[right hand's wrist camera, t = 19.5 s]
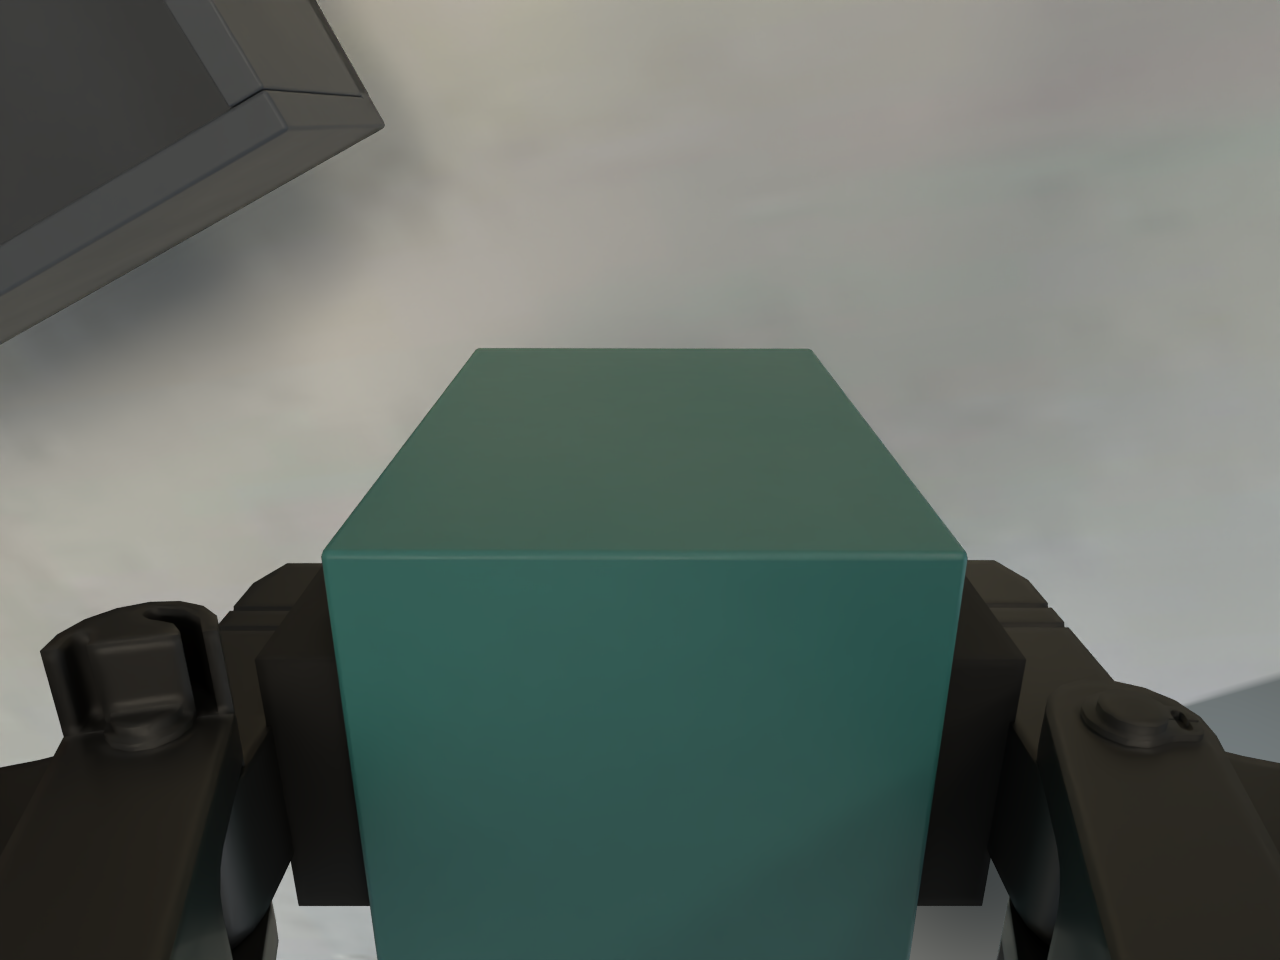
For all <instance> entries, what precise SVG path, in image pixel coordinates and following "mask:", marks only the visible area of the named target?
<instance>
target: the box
mask: <svg viewBox="0 0 1280 960" xmlns="http://www.w3.org/2000/svg"><path fill="white" fill-rule="evenodd" d="M384 126H385V125H384V122H383V120H382V118H381V116H380V115H379V113H378V111H377V109H376V108H375V106H374V104H373V102H372V100H371V99H370V97H369V95H368V93H367V91H366V89H365V87H364V86H363V84H362V82H361V80H360V79H359V77H358V75H357V73H356V71H355V70H354V68H353V66H352V64H351V62H350V61H349V59H348V57H347V55H346V54H345V52H344V50H343V48H342V46H341V45H340V43H339V41H338V39H337V38H336V36H335V34H334V32H333V30H332V29H331V27H330V25H329V23H328V22H327V20H326V18H325V16H324V14H323V13H322V11H321V9H320V7H319V6H318V4H317V2H316V0H0V344H2V343H4V342H6V341H8V340H9V339H11V338H13V337H15V336H16V335H18V334H20V333H22V332H23V331H25V330H27V329H29V328H31V327H32V326H34V325H36V324H38V323H39V322H41V321H43V320H45V319H46V318H48V317H50V316H52V315H54V314H55V313H57V312H59V311H61V310H62V309H64V308H66V307H68V306H69V305H71V304H73V303H75V302H77V301H78V300H80V299H82V298H84V297H85V296H87V295H89V294H91V293H92V292H94V291H96V290H98V289H100V288H101V287H103V286H105V285H107V284H108V283H110V282H112V281H114V280H115V279H117V278H119V277H121V276H123V275H124V274H126V273H128V272H130V271H131V270H133V269H135V268H137V267H138V266H140V265H142V264H144V263H146V262H147V261H149V260H151V259H153V258H154V257H156V256H158V255H160V254H161V253H163V252H165V251H167V250H169V249H170V248H172V247H174V246H176V245H177V244H179V243H181V242H183V241H184V240H186V239H188V238H190V237H192V236H193V235H195V234H197V233H199V232H200V231H202V230H204V229H206V228H207V227H209V226H211V225H213V224H214V223H216V222H218V221H220V220H222V219H223V218H225V217H227V216H229V215H230V214H232V213H234V212H236V211H237V210H239V209H241V208H243V207H245V206H246V205H248V204H250V203H252V202H253V201H255V200H257V199H259V198H260V197H262V196H264V195H266V194H268V193H269V192H271V191H273V190H275V189H276V188H278V187H280V186H282V185H283V184H285V183H287V182H289V181H291V180H292V179H294V178H296V177H298V176H299V175H301V174H303V173H305V172H306V171H308V170H310V169H312V168H314V167H315V166H317V165H319V164H321V163H322V162H324V161H326V160H328V159H329V158H331V157H333V156H335V155H337V154H338V153H340V152H342V151H344V150H345V149H347V148H349V147H351V146H352V145H354V144H356V143H358V142H360V141H361V140H363V139H365V138H367V137H368V136H370V135H372V134H374V133H375V132H377V131H379V130H381V129H383V128H384Z"/></svg>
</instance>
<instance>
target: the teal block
mask: <svg viewBox="0 0 1280 960" xmlns="http://www.w3.org/2000/svg"><path fill="white" fill-rule="evenodd" d="M321 558H322V565H323V572H324V579H325V586H326V593H327V601H328V608H329V615H330V622H331V629H332V637H333V644H334V651H335V658H336V665H337V672H338V680H339V687H340V694H341V701H342V708H343V715H344V723H345V730H346V737H347V744H348V751H349V758H350V766H351V773H352V780H353V787H354V794H355V801H356V809H357V816H358V823H359V830H360V837H361V844H362V852H363V859H364V866H365V873H366V880H367V887H368V895H369V902H370V909H371V916H372V923H373V930H374V938H375V945H376V952H377V959H378V960H909V958H910V951H911V944H912V937H913V930H914V923H915V916H916V910H917V903H918V896H919V889H920V882H921V875H922V868H923V861H924V855H925V848H926V841H927V834H928V827H929V820H930V813H931V806H932V800H933V793H934V786H935V779H936V772H937V765H938V758H939V751H940V745H941V738H942V731H943V724H944V717H945V710H946V703H947V696H948V689H949V683H950V676H951V669H952V662H953V655H954V648H955V641H956V634H957V628H958V621H959V614H960V607H961V600H962V593H963V586H964V579H965V573H966V566H967V559H968V557H967V554H966V552H965V550H964V549H963V548H962V546H961V545H960V544H959V542H958V541H957V540H956V539H955V537H954V536H953V535H952V533H951V532H950V531H949V529H948V528H947V527H946V525H945V524H944V523H943V522H942V520H941V519H940V518H939V516H938V515H937V514H936V512H935V511H934V510H933V508H932V507H931V506H930V505H929V503H928V502H927V501H926V499H925V498H924V497H923V495H922V494H921V493H920V491H919V490H918V489H917V488H916V486H915V485H914V484H913V482H912V481H911V480H910V478H909V477H908V476H907V474H906V473H905V472H904V470H903V469H902V468H901V467H900V465H899V464H898V463H897V461H896V460H895V459H894V457H893V456H892V455H891V453H890V452H889V451H888V450H887V448H886V447H885V446H884V444H883V443H882V442H881V440H880V439H879V438H878V436H877V435H876V434H875V433H874V431H873V430H872V429H871V427H870V426H869V425H868V423H867V422H866V421H865V419H864V418H863V417H862V415H861V414H860V413H859V412H858V410H857V409H856V408H855V406H854V405H853V404H852V402H851V401H850V400H849V398H848V397H847V396H846V395H845V393H844V392H843V391H842V389H841V388H840V387H839V385H838V384H837V383H836V381H835V380H834V379H833V378H832V376H831V375H830V374H829V372H828V371H827V370H826V368H825V367H824V366H823V364H822V363H821V362H820V361H819V359H818V358H817V357H816V355H815V354H814V353H813V351H812V350H810V349H581V348H479V349H476V350H475V352H474V353H473V354H472V356H471V357H470V358H469V360H468V361H467V362H466V364H465V365H464V366H463V367H462V369H461V370H460V371H459V373H458V374H457V375H456V377H455V378H454V379H453V381H452V382H451V383H450V385H449V386H448V387H447V389H446V390H445V391H444V392H443V394H442V395H441V396H440V398H439V399H438V400H437V402H436V403H435V404H434V406H433V407H432V408H431V410H430V411H429V412H428V413H427V415H426V416H425V417H424V419H423V420H422V421H421V423H420V424H419V425H418V427H417V428H416V429H415V431H414V432H413V433H412V435H411V436H410V437H409V438H408V440H407V441H406V442H405V444H404V445H403V446H402V448H401V449H400V450H399V452H398V453H397V454H396V456H395V457H394V458H393V460H392V461H391V462H390V463H389V465H388V466H387V467H386V469H385V470H384V471H383V473H382V474H381V475H380V477H379V478H378V479H377V481H376V482H375V483H374V484H373V486H372V487H371V488H370V490H369V491H368V492H367V494H366V495H365V496H364V498H363V499H362V500H361V502H360V503H359V504H358V506H357V507H356V508H355V509H354V511H353V512H352V513H351V515H350V516H349V517H348V519H347V520H346V521H345V523H344V524H343V525H342V527H341V528H340V529H339V530H338V532H337V533H336V534H335V536H334V537H333V538H332V540H331V541H330V542H329V544H328V545H327V546H326V548H325V549H324V550H323V553H322V556H321Z"/></svg>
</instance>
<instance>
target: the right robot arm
mask: <svg viewBox="0 0 1280 960" xmlns="http://www.w3.org/2000/svg"><path fill="white" fill-rule="evenodd" d="M40 653H41V657H42V660H43V664H44V667H45V671H46V675H47V678H48V682H49V685H50V689H51V693H52V696H53V700H54V703H55V707H56V710H57V714H58V718H59V721H60V725H61V728H62V732H63V736H64V738H63V739H62V741H61V743H60V745H59V747H58V749H57V751H56V753H55V754H54V756H53V757H49V758H45V759H41V760H37V761H32V762H27V763H21V764H16V765H11V766H6V767H1V768H0V960H276V955H277V948H278V934H277V926H276V919H275V914H274V909H273V904H272V899H273V897H274V895H275V893H276V891H277V889H278V886H279V884H280V882H281V880H282V878H283V876H284V874H285V872H286V870H287V867H288V865H289V863H290V861H291V865H292V871H293V876H294V882H295V887H296V893H297V899H298V904H299V906H370V902H369V895H368V887H367V880H366V873H365V866H364V859H363V852H362V844H361V837H360V830H359V823H358V816H357V809H356V801H355V794H354V787H353V780H352V773H351V766H350V758H349V751H348V744H347V737H346V730H345V723H344V715H343V708H342V701H341V694H340V687H339V680H338V672H337V665H336V658H335V651H334V644H333V637H332V629H331V622H330V615H329V608H328V601H327V593H326V586H325V579H324V572H323V565H322V563H287V564H285V565H283V566H282V567H280V568H278V569H277V570H275V571H273V572H272V573H270V574H268V575H266V576H265V577H263V578H261V579H260V580H258V581H256V582H255V583H253V584H252V585H251V587H250V588H249V589H248V590H247V591H246V592H245V594H244V595H243V596H242V597H241V598H240V600H239V601H238V602H237V603H236V604H235V605H234V611H229V613H228V614H227V615H226V616H225V617H224V618H223V620H222V621H221V622H220V623H219V624H218V619H217V616H216V615H215V614H214V613H212V612H211V611H210V610H208V609H207V608H206V607H204V606H202V605H197V604H192V603H187V602H182V601H166V602H147V603H142V604H137V605H131V606H126V607H121V608H116V609H113V610H110V611H107V612H105V613H102V614H99V615H96V616H93V617H90V618H87V619H84V620H83V621H81V622H79V623H77V624H75V625H74V626H72V627H70V628H68V629H66V630H64V631H63V632H61V633H59V634H57V635H56V636H55V637H54V638H53V639H52V640H51V641H50V642H49V643H48V644H47V645H46V646H45V647H44V648H43V649H42V650H41V651H40ZM990 858H991V859H992V861H993V863H994V865H995V867H996V869H997V871H998V874H999V876H1000V878H1001V880H1002V882H1003V884H1004V886H1005V888H1006V890H1007V892H1008V894H1009V899H1008V904H1007V909H1006V914H1005V919H1004V925H1003V930H1002V935H1001V940H1000V945H999V950H998V956H997V960H1280V763H1276V762H1271V761H1266V760H1260V759H1255V758H1250V757H1245V756H1241V755H1237V754H1233V753H1229V752H1225V751H1224V749H1223V747H1222V745H1221V743H1220V741H1219V740H1218V738H1217V736H1216V735H1215V733H1214V732H1213V731H1212V730H1211V729H1210V728H1209V726H1208V725H1207V724H1206V723H1205V722H1204V721H1203V719H1202V718H1201V717H1200V716H1198V715H1197V714H1195V713H1193V712H1192V711H1190V710H1189V709H1187V708H1186V707H1184V706H1183V705H1181V704H1180V703H1178V702H1177V701H1175V700H1173V699H1171V698H1168V697H1166V696H1163V695H1161V694H1158V693H1156V692H1153V691H1151V690H1149V689H1146V688H1143V687H1139V686H1134V685H1130V684H1125V683H1121V682H1116V681H1114V680H1113V679H1112V678H1111V677H1110V675H1109V674H1108V673H1107V672H1106V671H1105V670H1104V668H1103V667H1102V666H1101V665H1100V664H1099V663H1098V661H1097V660H1096V659H1095V658H1094V657H1093V656H1092V654H1091V653H1090V652H1089V651H1088V650H1087V648H1086V647H1085V646H1084V645H1083V644H1082V643H1081V641H1080V640H1079V639H1078V638H1077V637H1076V636H1075V634H1074V633H1073V632H1072V631H1071V630H1070V629H1069V627H1064V622H1063V620H1062V619H1061V618H1060V617H1059V616H1058V615H1057V613H1056V612H1055V611H1054V610H1053V609H1052V608H1048V603H1047V602H1046V600H1045V599H1044V598H1043V597H1042V596H1041V595H1040V593H1039V592H1038V591H1037V590H1036V589H1035V588H1034V586H1033V585H1032V584H1031V583H1030V582H1029V581H1028V580H1027V579H1025V578H1024V577H1022V576H1020V575H1019V574H1017V573H1015V572H1013V571H1012V570H1010V569H1008V568H1007V567H1005V566H1003V565H1001V564H1000V563H998V562H996V561H995V560H967V566H966V573H965V579H964V586H963V593H962V600H961V607H960V614H959V621H958V628H957V634H956V641H955V648H954V655H953V662H952V669H951V676H950V683H949V689H948V696H947V703H946V710H945V717H944V724H943V731H942V738H941V745H940V751H939V758H938V765H937V772H936V779H935V786H934V793H933V800H932V806H931V813H930V820H929V827H928V834H927V841H926V848H925V855H924V861H923V868H922V875H921V882H920V889H919V896H918V903H917V906H982V903H983V897H984V892H985V886H986V881H987V875H988V869H989V864H990Z"/></svg>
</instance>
